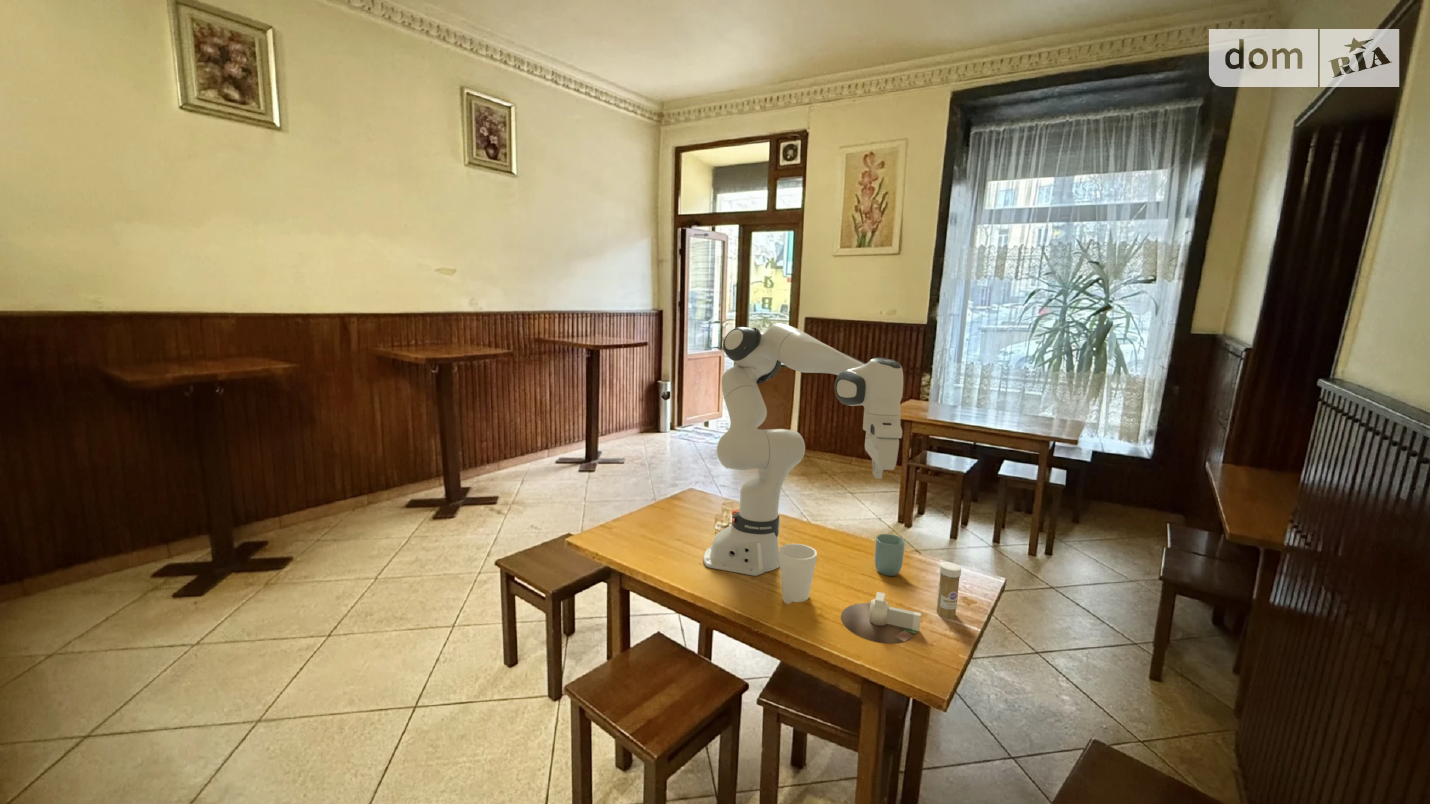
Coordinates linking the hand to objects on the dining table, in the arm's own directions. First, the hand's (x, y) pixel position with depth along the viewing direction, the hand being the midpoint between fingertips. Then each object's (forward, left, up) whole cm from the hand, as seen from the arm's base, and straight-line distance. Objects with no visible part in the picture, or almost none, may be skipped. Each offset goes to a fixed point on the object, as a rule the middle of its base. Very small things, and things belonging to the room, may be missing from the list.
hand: (877, 477), depth 142 cm
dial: (0, -17, -31) cm, 35 cm away
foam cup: (-19, -8, -31) cm, 37 cm away
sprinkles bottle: (+17, -10, -31) cm, 37 cm away
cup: (+7, +12, -31) cm, 34 cm away
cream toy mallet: (+3, -18, -30) cm, 35 cm away
